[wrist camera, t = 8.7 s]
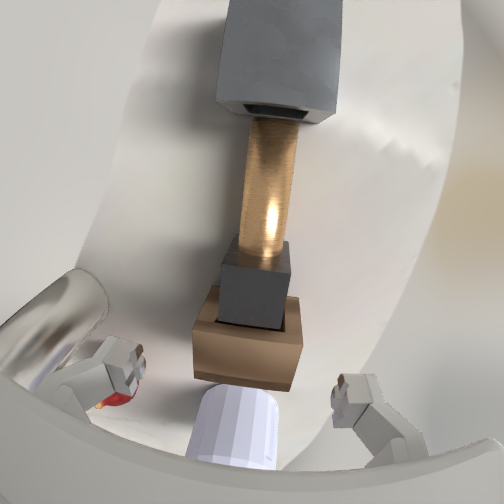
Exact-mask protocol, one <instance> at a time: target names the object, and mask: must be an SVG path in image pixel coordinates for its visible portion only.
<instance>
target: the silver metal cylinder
mask: <svg viewBox="0 0 504 504" xmlns="http://www.w3.org/2000/svg"><path fill="white" fill-rule="evenodd" d="M108 309H109V305H108V299H107V296H106V293H105V291H104V290H103V288H102V286H101V285H100V283H99V282H98V281H97V280H96V279H95V278H94V277H93V276H92V275H91V274H89V273H88V272H86V271H84V270H81V269H72V270H70V271H68V272H67V273H66V274H64V275H63V276H62V277H60V278H59V279H58V280H56V281H55V282H54V283H52V284H51V285H50V286H48V287H47V288H46V289H45V290H43V291H42V292H41V293H39V294H38V295H37V296H36V297H34V298H33V299H32V300H31V301H29V302H28V303H27V304H26V305H25V306H23V307H22V308H21V309H20V310H18V311H17V312H16V313H15V314H14V315H13V316H11V317H10V318H9V319H8V320H7V321H6V322H5V323H3V324H2V325H1V326H0V371H2V372H3V373H4V374H6V375H7V376H8V377H10V378H11V379H13V380H14V381H15V382H17V383H18V384H20V385H21V386H23V387H24V388H26V389H27V390H29V391H30V392H32V393H34V392H35V390H36V389H37V388H38V386H39V385H40V384H41V382H42V381H43V380H44V378H45V377H46V376H47V375H48V374H51V373H53V372H55V371H58V370H60V369H62V368H63V367H64V366H65V365H66V364H67V362H68V361H69V360H70V359H71V357H72V356H73V355H74V354H75V352H76V351H77V350H78V349H79V348H80V346H81V345H82V344H83V343H84V342H85V341H86V339H87V338H88V337H89V336H90V335H91V334H92V332H93V331H94V330H95V329H96V328H97V327H98V325H99V324H100V323H101V322H102V321H103V320H104V319H105V317H106V316H107V314H108Z"/></svg>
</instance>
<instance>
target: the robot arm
mask: <svg viewBox="0 0 504 504" xmlns="http://www.w3.org/2000/svg"><path fill="white" fill-rule="evenodd" d="M142 352H143V347H142V345H141V344H138V343H135V342H131V341H128V340H125V339H122V338H118V337H115V336H112V335H110V336H108V337H107V338H106V339H105V341H104V342H103V343H102V345H101V346H100V347H99V349H98V350H97V351H96V353H95V354H94V355H93V357H92V358H86V359H84V360H82V361H79V362H77V363H75V364H72V365H70V366H68V367H65V368H63V369H60V370H58V371H55V372H53V373H51V374H48V375H47V376H46V377H45V378H44V380H43V381H42V382H41V384H40V385H39V386H38V388H37V389H36V390H35V392H34V393H32V392H30V391H29V390H27V389H26V388H24V387H23V386H21V385H20V384H18V383H17V382H15V381H14V380H13V379H11V378H10V377H8V376H7V375H6V374H4V373H3V372H2V371H0V504H504V446H503V445H502V444H501V443H499V442H498V441H497V440H495V439H493V438H491V437H487V438H483V439H481V440H478V441H476V442H473V443H470V444H468V445H465V446H462V447H459V448H456V449H453V450H450V451H446V452H443V453H439V454H436V455H432V456H429V454H428V450H427V447H426V444H425V440H424V437H423V434H422V433H421V432H420V431H419V430H418V429H417V428H416V427H415V426H413V425H412V424H411V423H410V422H409V421H408V420H407V419H406V418H404V417H403V416H402V415H401V414H400V413H399V412H398V411H396V410H395V409H394V408H393V407H392V406H391V405H390V404H389V403H385V402H384V399H383V395H382V392H381V389H380V386H379V383H378V380H377V376H376V375H375V374H340V375H339V377H338V379H337V380H338V384H337V385H336V386H334V388H333V390H332V394H331V407H332V408H333V409H334V413H333V415H332V418H333V426H334V428H353V430H354V432H355V433H356V434H357V436H358V437H359V438H360V439H361V440H362V442H363V443H364V444H365V446H366V447H367V448H368V450H369V451H370V452H371V453H372V455H373V456H374V458H373V459H372V460H371V461H370V462H369V463H367V465H366V466H365V468H361V469H351V470H337V471H279V470H265V469H254V468H245V467H237V466H230V465H224V464H218V463H213V462H207V461H202V460H197V459H193V458H189V457H184V456H180V455H176V454H172V453H169V452H165V451H162V450H158V449H155V448H152V447H148V446H145V445H142V444H139V443H136V442H133V441H131V440H128V439H125V438H122V437H120V436H117V435H115V434H112V433H110V432H107V431H105V430H102V429H100V428H98V427H96V426H93V425H91V421H90V419H89V417H88V416H87V414H86V413H85V411H87V410H88V409H90V408H92V407H93V406H95V405H96V404H98V403H99V402H101V401H103V400H104V399H106V398H107V397H109V396H110V395H112V394H113V393H115V392H118V393H121V394H125V395H128V396H131V397H132V396H133V394H134V392H135V390H136V389H137V387H138V384H137V381H138V380H140V379H141V378H142V377H143V375H144V372H145V368H146V361H145V358H144V357H143V356H142Z"/></svg>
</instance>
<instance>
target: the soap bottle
mask: <svg viewBox="0 0 504 504" xmlns="http://www.w3.org/2000/svg"><path fill="white" fill-rule="evenodd" d="M278 412H279V408H278V405H277V402H276V400H275V399H274V398H273V397H272V396H271V395H270V394H269V393H268V392H266V391H264V390H262V389H256V388H248V387H241V386H234V385H228V384H220V385H216V386H214V387H213V388H211V389H209V390H207V392H206V393H205V395H204V396H203V397H202V401H201V404H200V407H199V411H198V414H197V417H196V421H195V424H194V428H193V431H192V434H191V438H190V441H189V444H188V448H187V451H186V455H185V457H189V458H193V459H197V460H202V461H207V462H213V463H218V464H224V465H230V466H237V467H245V468H254V469H265V470H276V455H277V435H278Z"/></svg>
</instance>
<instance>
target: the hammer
mask: <svg viewBox="0 0 504 504" xmlns="http://www.w3.org/2000/svg"><path fill="white" fill-rule="evenodd" d="M298 129H299V123H296V122H293V121H288V120H282V119H275V118H264V117H254V118H251V123H250V132H249V141H248V151H247V160H246V170H245V180H244V189H243V200H242V210H241V220H240V231H239V235H235V237H234V239H233V241H232V243H231V245H230V247H229V250H228V252H227V254H226V256H225V258H224V260H223V262H222V264H221V279H220V296H219V315H218V321H224V322H230V323H231V325H233V326H240V327H247V328H254V329H261V330H269V328H274V329H280V328H281V323H282V318H283V313H284V308H285V303H286V298H287V293H288V287H289V282H290V277H291V267H290V255H289V244H288V242H287V241H284V234H285V227H286V221H287V214H288V207H289V200H290V192H291V185H292V177H293V170H294V162H295V154H296V146H297V138H298Z"/></svg>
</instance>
